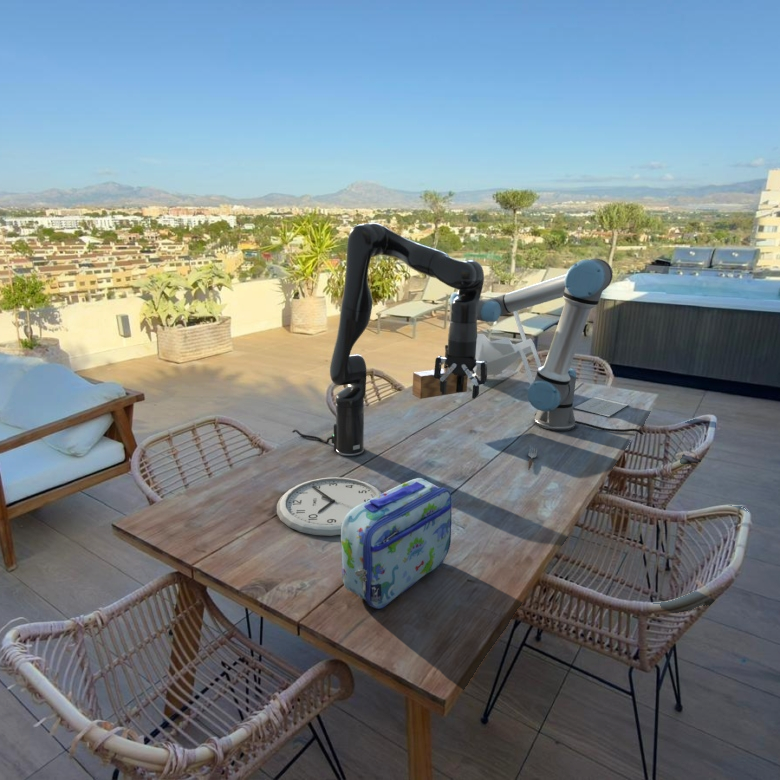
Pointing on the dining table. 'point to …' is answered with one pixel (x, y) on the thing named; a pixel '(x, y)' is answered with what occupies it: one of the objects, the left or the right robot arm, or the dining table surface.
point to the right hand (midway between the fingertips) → (454, 389)
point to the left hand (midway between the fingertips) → (459, 395)
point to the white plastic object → (505, 352)
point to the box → (434, 384)
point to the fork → (531, 457)
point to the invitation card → (601, 406)
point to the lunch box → (395, 540)
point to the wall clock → (323, 504)
